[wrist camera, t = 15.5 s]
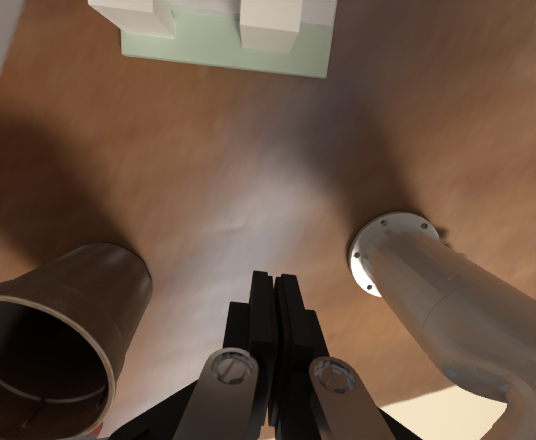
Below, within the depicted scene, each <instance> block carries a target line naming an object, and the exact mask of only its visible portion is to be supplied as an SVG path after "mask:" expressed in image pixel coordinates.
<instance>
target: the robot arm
mask: <svg viewBox="0 0 536 440" xmlns="http://www.w3.org/2000/svg"><path fill="white" fill-rule="evenodd" d="M382 221H383V222H382ZM381 222H382V223H381ZM354 253H355V254H354ZM348 263H349V269H350V272H351V274H352V276H353V278H354V279H355V281H356V282H357V284H358V285H359V286H360V287H361V288H362V289H363V290H365V291H366V292H368V293H370V294H372V295H375V296H379V297H382V298H383V299H384V300H385V302H386V303H387V304H388V305H389V307H390V308H391V309H392V311H393V312H394V313H395V315H396V316H397V317H398V318H399V320H400V321H401V322H402V324H403V325H404V326H405V327H406V329H407V330H408V331H409V333H410V334H411V335H412V337H413V338H414V339H415V340H416V342H417V343H418V344H419V346H420V347H421V348H422V350H423V351H424V352H425V353H426V355H427V356H428V357H429V359H430V360H431V361H432V363H433V364H434V365H435V366H436V368H437V369H438V370H439V371H440V372H441V373H442V374H443V375H444V376H445V377H446V378H447V379H449V380H450V381H451V382H452V383H454V384H456V385H457V386H459V387H460V388H462V389H464V390H466V391H469V392H471V393H473V394H476V395H478V396H481V397H485V398H488V399H491V400H495V401H500V402H504V403H507V408H506V410H505V412H504V413H503V414H502V415H501V417H500V418H499V419H498V420H497V421H496V422H495V423H494V424H493V426H492V428H491V429H490V430H489V431H488V432H487V433H486V434H485V435H484V436H483V437H482V438H481V439H480V440H536V300H535V299H533V298H531V297H530V296H528V295H526V294H524V293H523V292H521V291H519V290H518V289H516V288H515V287H513V286H511V285H510V284H508V283H506V282H505V281H503V280H501V279H500V278H498V277H496V276H495V275H493V274H491V273H490V272H488V271H486V270H485V269H483V268H482V267H480V266H478V265H477V264H475V263H473V262H472V261H470V260H468V259H467V256H466V255H465V254H463V253H457V252H455V251H453V250H452V249H450V248H449V247H447V246H445V245H444V244H442V243H441V242H440V238H439V235H438V233H437V231H436V229H435V228H434V227H433V226H432V225H431V223H430V222H428V221H427V220H425V219H424V218H422V217H420V216H418V215H416V214H413V213H409V212H401V211H398V212H390V213H386V214H383V215H380V216H378V217H376V218H374V219H373V220H371V221H370V222H368V223H367V224H366V225H365V226H364V227H363V228H362V229H361V230H360V231H359V232H358V233H357V235H356V236H355V238H354V240H353V242H352V244H351V246H350V250H349V257H348ZM267 407H268V423H269V426H273V427H275V440H422V439H421V438H420V437H418V436H417V435H415V434H414V433H412V432H411V431H410V430H409V429H407V428H406V427H404V426H403V425H402V424H400V423H399V422H398V421H396V420H395V419H394V418H392V417H391V416H389V415H388V414H387V413H385V412H384V411H383V410H381V409H380V408H378V407H377V406H376V404H375V403H374V401H373V399H372V398H371V396H370V394H369V392H368V391H367V389H366V387H365V386H364V384H363V382H362V380H361V379H360V377H359V375H358V374H357V373H356V371H355V370H354V369H353V368H352V367H351V366H350V365H348V364H347V363H346V362H344V361H342V360H340V359H337V358H334V357H330V356H329V353H328V349H327V346H326V343H325V340H324V337H323V334H322V331H321V328H320V324H319V321H318V318H317V315H316V312H315V311H314V310H306V309H305V308H304V304H303V300H302V296H301V293H300V289H299V285H298V281H297V277H296V275H289V274H281V277H276V279H275V285H274V288H273V278H272V276H268V273H267V272H263V271H253V277H252V284H251V291H250V298H249V303H240V302H230V305H229V311H228V318H227V324H226V330H225V336H224V342H223V348H222V349H220V350H218V351H215V352H214V353H213V354H212V355H210V356H209V358H208V359H207V361H206V363H205V365H204V367H203V370H202V372H201V374H200V377H199V379H198V380H196V381H195V382H193V383H191V384H190V385H188V386H186V387H185V388H183V389H181V390H180V391H178V392H177V393H175V394H173V395H172V396H170V397H168V398H167V399H165V400H164V401H162V402H160V403H159V404H157V405H155V406H154V407H152V408H150V409H149V410H147V411H146V412H144V413H142V414H141V415H139V416H137V417H136V418H134V419H132V420H131V421H129V422H128V423H126V424H124V425H123V426H121V427H120V428H119V429H117V430H116V431H115V432H114V433H112V434H111V436H110V437H106V438H100V439H98V437H97V434H91V435H84V436H78V437H71V438H65V439H58V440H257V439H258V438H259V436H260V430H261V426H264V423H265V417H266V412H267Z"/></svg>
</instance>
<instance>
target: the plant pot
mask: <svg viewBox="0 0 536 440" xmlns="http://www.w3.org/2000/svg"><path fill="white" fill-rule="evenodd" d="M151 295H152V279H151V278H150V277H149V274H148V272H147V269H146V266H145V264H144V263H143V262H142V261H141V260H140V259H139V258H138V257H137V256H136V255H135V254H133V253H132V252H130V251H129V250H127V249H125V248H123V247H120V246H118V245H114V244H111V243H104V242H96V243H91V244H87V245H83V246H80V247H78V248H76V249H74V250H72V251H70V252H68V253H66V254H64V255H62V256H60V257H58V258H56V259H54V260H52V261H50V262H48V263H46V264H44V265H42V266H40V267H38V268H36V269H34V270H32V271H30V272H28V273H26V274H24V275H22V276H20V277H18V278H16V279H14V280H10V281H5V282H2V283H0V440H58V439H65V438H71V437H78V436H84V435H87V434H89V433H90V432H92V431H93V430H94V429H95V428H97V427H98V426H99V425H100V424H101V423H102V421H103V420H104V419H105V417H106V416H107V414H108V412H109V411H110V409H111V406H112V404H113V401H114V398H115V393H116V383H117V380H118V378H119V375H120V373H121V371H122V368H123V365H124V360H125V354H126V352H127V349H128V347H129V345H130V343H131V340H132V338H133V336H134V334H135V331H136V329H137V327H138V325H139V322H140V320H141V318H142V316H143V314H144V312H145V309H146V307H147V305H148V303H149V301H150V298H151Z"/></svg>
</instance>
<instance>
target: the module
mask: <svg viewBox="0 0 536 440" xmlns="http://www.w3.org/2000/svg"><path fill="white" fill-rule="evenodd" d="M302 1H303V0H241V10H240V32H241V40H242V47H243V48H251V49H259V50H267V51H275V52H283V53H289V52H290V49H291V47H292V45H293V43H294V41H295V39H296V37H297V35H298V33H299V27H300V18H301V10H302Z"/></svg>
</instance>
